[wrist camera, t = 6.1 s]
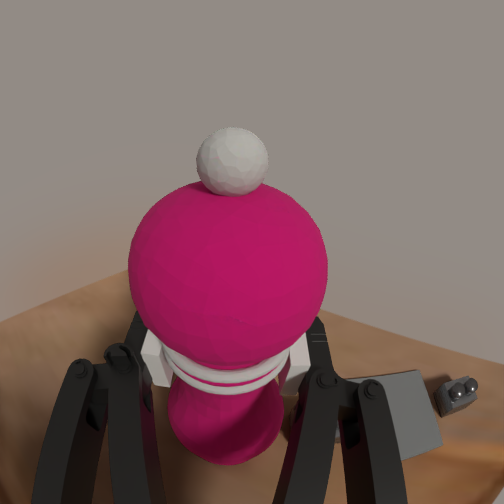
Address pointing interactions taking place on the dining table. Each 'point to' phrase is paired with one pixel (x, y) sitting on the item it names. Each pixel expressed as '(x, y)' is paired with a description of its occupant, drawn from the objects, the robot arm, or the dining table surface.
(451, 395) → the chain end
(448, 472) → the dining table surface
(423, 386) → the plate
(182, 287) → the pepper mill
